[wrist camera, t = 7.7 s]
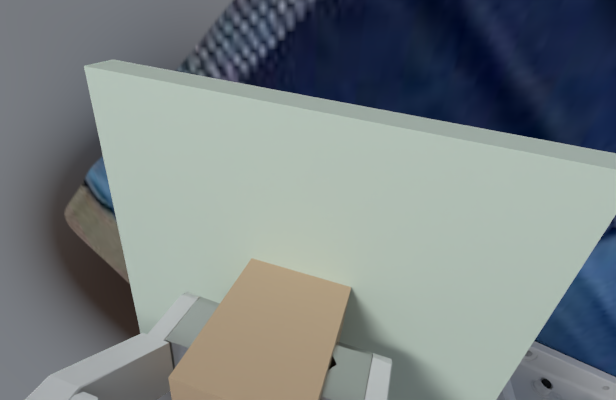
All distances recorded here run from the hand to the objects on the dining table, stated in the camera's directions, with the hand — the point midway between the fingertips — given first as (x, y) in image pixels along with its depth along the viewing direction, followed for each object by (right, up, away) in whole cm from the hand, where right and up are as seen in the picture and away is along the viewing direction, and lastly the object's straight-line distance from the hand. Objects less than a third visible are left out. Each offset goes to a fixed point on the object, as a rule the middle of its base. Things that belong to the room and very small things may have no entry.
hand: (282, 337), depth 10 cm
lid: (+1, +1, +2) cm, 2 cm away
